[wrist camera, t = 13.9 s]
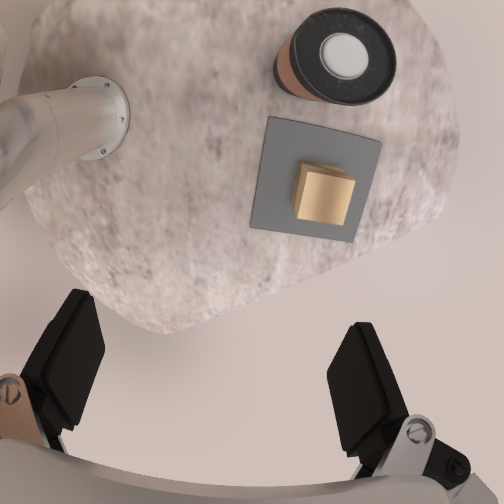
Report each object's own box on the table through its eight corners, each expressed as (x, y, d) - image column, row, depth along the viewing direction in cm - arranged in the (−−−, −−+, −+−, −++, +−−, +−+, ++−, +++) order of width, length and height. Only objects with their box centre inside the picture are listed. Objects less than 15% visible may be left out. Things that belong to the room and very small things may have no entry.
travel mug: (335, 92, 34) (408, 100, 17) (279, 104, 35) (309, 116, 18) (320, 40, 31) (382, 3, 13) (263, 50, 32) (277, 13, 15)
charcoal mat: (250, 224, 44) (250, 227, 43) (268, 116, 36) (269, 116, 35) (350, 239, 46) (352, 242, 45) (379, 141, 38) (382, 143, 37)
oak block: (291, 200, 41) (297, 218, 36) (299, 159, 38) (307, 171, 33) (331, 207, 42) (342, 225, 37) (341, 167, 39) (355, 181, 34)
